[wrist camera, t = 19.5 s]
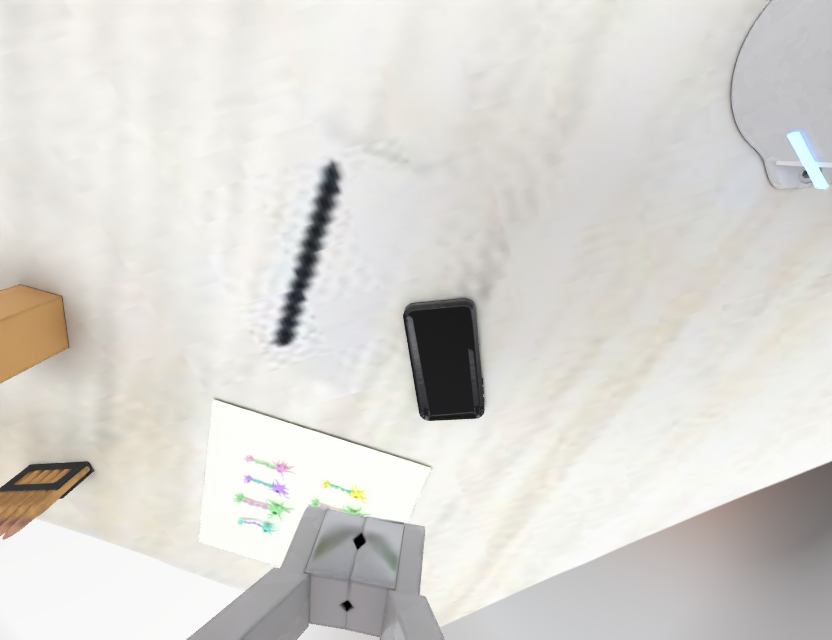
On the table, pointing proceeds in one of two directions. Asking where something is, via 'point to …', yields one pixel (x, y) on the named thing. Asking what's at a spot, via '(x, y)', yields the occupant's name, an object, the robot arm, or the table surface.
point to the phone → (445, 359)
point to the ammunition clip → (37, 492)
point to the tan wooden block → (29, 329)
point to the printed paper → (291, 482)
